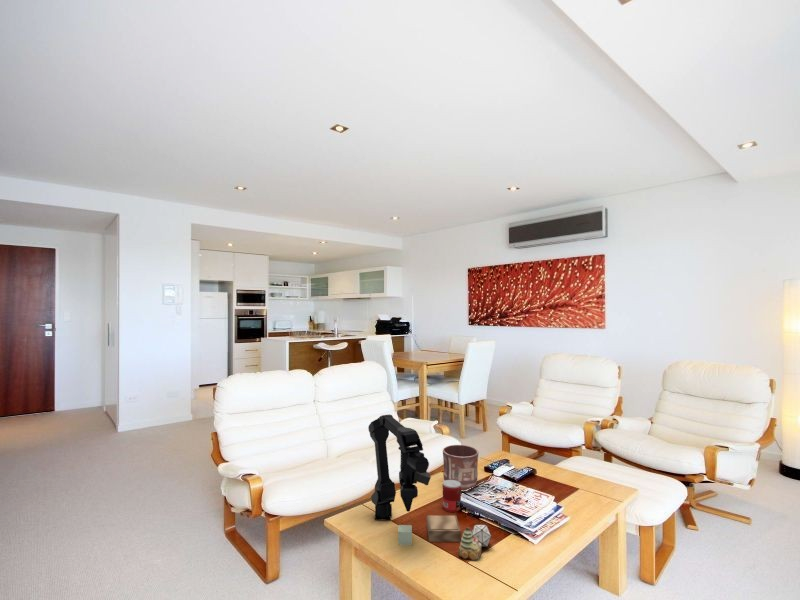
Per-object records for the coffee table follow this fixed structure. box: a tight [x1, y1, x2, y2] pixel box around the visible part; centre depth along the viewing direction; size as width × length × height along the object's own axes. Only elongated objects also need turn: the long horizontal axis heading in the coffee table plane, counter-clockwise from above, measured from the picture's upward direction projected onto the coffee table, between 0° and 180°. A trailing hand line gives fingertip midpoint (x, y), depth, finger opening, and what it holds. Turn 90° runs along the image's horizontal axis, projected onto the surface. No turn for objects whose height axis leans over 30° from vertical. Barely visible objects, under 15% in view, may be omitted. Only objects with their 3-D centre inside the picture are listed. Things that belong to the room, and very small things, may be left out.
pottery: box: [442, 444, 479, 490], centre depth 212 cm, size 18×18×18 cm
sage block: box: [397, 524, 413, 546], centre depth 163 cm, size 5×5×5 cm
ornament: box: [458, 526, 482, 561], centre depth 154 cm, size 8×6×10 cm
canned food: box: [442, 480, 462, 513], centre depth 190 cm, size 8×8×11 cm
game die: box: [471, 522, 494, 549], centre depth 160 cm, size 9×8×10 cm
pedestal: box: [426, 514, 462, 543], centre depth 169 cm, size 12×12×4 cm
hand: (407, 505), depth 164 cm, fingers open, 9 cm apart
